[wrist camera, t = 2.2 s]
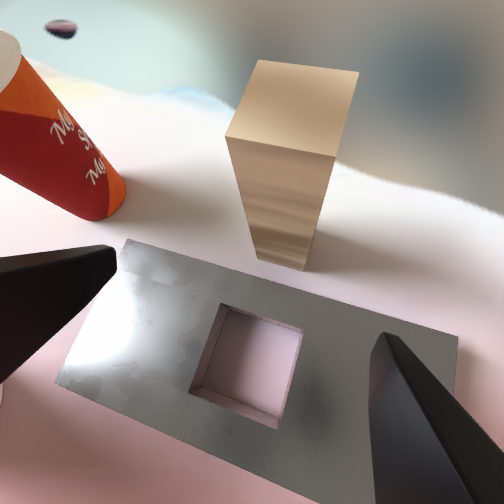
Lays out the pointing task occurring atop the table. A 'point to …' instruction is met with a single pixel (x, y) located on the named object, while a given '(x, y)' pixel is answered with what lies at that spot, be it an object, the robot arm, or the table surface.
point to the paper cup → (50, 143)
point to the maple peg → (287, 153)
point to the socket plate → (225, 409)
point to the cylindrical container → (1, 391)
